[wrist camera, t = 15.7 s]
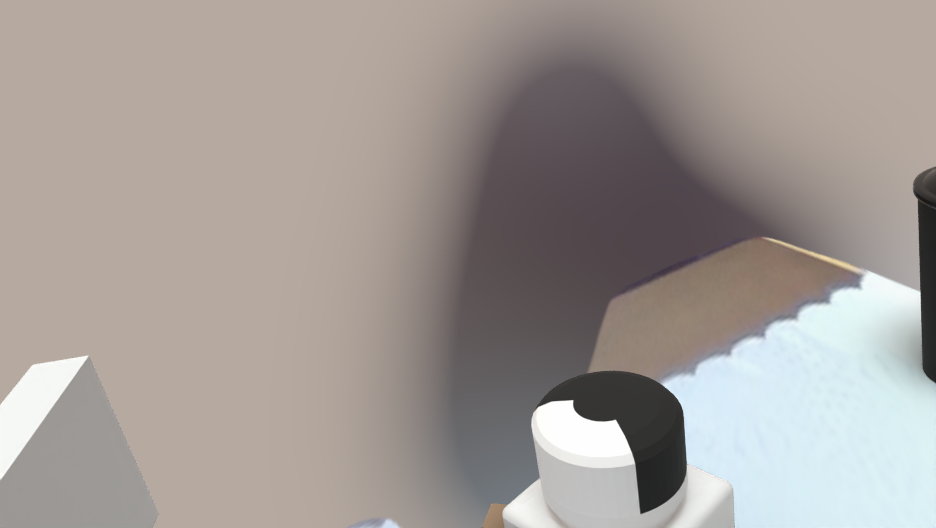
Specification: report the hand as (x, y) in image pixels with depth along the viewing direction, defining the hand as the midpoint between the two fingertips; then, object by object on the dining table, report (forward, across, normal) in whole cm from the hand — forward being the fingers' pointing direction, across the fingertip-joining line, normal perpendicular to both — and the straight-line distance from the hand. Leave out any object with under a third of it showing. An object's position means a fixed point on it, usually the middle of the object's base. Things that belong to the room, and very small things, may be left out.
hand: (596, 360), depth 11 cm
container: (+20, +2, -29) cm, 35 cm away
